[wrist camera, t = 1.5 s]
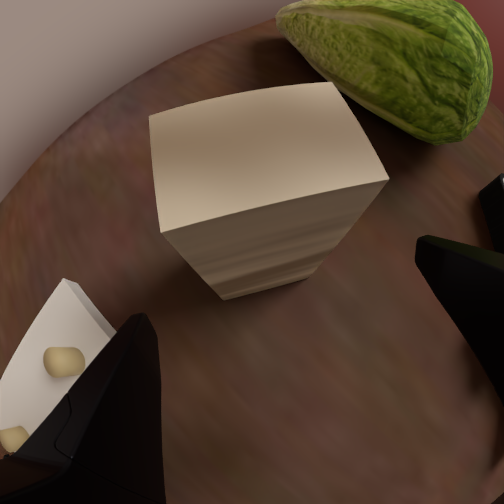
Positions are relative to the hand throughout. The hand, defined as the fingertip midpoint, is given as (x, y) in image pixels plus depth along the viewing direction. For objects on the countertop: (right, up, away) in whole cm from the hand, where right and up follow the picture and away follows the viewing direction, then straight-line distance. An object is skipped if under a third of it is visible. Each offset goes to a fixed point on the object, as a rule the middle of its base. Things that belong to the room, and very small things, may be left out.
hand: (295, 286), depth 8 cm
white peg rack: (-17, -11, +8) cm, 22 cm away
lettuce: (+11, +20, +17) cm, 29 cm away
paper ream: (-1, 0, +11) cm, 11 cm away
